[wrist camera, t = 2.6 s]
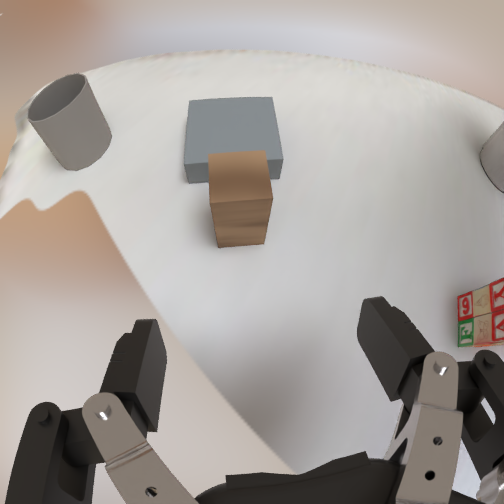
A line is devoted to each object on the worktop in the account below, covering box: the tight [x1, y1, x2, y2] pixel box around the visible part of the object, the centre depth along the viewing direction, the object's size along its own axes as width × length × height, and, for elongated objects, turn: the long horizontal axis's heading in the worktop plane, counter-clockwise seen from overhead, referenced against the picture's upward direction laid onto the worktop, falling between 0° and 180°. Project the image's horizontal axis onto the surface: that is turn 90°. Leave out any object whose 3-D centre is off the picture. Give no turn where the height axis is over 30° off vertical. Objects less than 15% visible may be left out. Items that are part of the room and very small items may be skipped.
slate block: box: [184, 97, 283, 184], centre depth 32 cm, size 10×10×4 cm
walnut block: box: [208, 150, 273, 248], centre depth 26 cm, size 4×4×9 cm
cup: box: [27, 73, 112, 171], centre depth 29 cm, size 8×8×10 cm
